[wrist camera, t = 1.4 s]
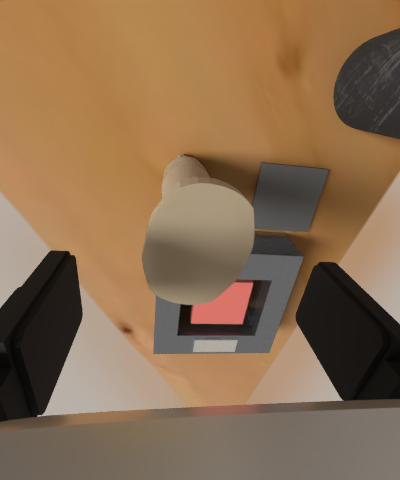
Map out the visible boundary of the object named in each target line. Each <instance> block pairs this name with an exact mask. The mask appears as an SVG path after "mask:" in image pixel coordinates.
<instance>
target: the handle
mask: <svg viewBox="0 0 400 480" xmlns="http://www.w3.org/2000/svg"><path fill="white" fill-rule="evenodd" d="M253 244H254V208H253V207H252V206H251V204H250V203H249V202H248V200H247V199H246V198H245V196H244V195H243V194H242V193H241V192H240V191H239V190H238V189H237V188H235V187H233V186H232V185H230V184H228V183H226V182H223V181H221V180H218V179H214V178H210V176H209V174H208V172H207V171H206V169H205V168H204V166H203V165H202V164H201V163H200V162H199V161H198V160H197V159H196V158H194V157H193V158H192V157H188V156H185V155H184V154H180V155H178V157H177V158H176V159H174V160H173V161H172V162H171V163H169V164H168V165H167V168H166V170H165V173H164V176H163V181H162V200H161V201H160V203H159V204H158V205H157V207H156V208H155V209H154V211H153V212H152V215H151V218H150V222H149V225H148V229H147V233H146V237H145V242H144V246H143V254H142V262H143V269H144V272H145V276H146V279H147V283H148V286H149V289H150V291H152V292H153V293H154V294H155V295H157V296H158V297H160V298H162V299H164V300H167V301H169V302H174V303H178V304H185V305H199V304H205V303H209V302H212V301H213V300H215V299H216V298H217V297H218V296H219V295H221V294H222V293H223V292H224V291H225V290H226V289H228V288H229V287H230V286H231V285H232V284H233V283H234V282H235V281H236V280H237V279H238V277H239V275H240V274H241V272H242V270H243V268H244V266H245V264H246V262H247V260H248V258H249V256H250V253H251V250H252V248H253Z"/></svg>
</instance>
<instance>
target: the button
mask: <svg viewBox="0 0 400 480" xmlns="http://www.w3.org/2000/svg"><path fill="white" fill-rule="evenodd" d="M252 286H253V281H252V280H241V279H237V280H236V281H235V282H234V283H233V284H232V285H231V286H230V287H229V288H228V289H226V290H225V291H224V292H223V293H222V294H221V295H219V296H218V297H217V298H216V299H215V300H213V301H212V302H209V303H205V304H199V305H192V307H191V314H190V318H191V324H243V320H244V316H245V313H246V309H247V305H248V301H249V298H250V294H251V290H252Z"/></svg>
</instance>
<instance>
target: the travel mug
mask: <svg viewBox="0 0 400 480" xmlns="http://www.w3.org/2000/svg"><path fill="white" fill-rule="evenodd" d="M334 105H335V109H336V112H337V114H338V116H339V118H340V119H341V120H342V121H343V122H344V123H345V124H346V125H348V126H350V127H352V128H355V129H359V130H363V131H367V132H371V133H376V134H380V135H385V136H389V137H393V138H398V139H400V28H399V29H396V30H393V31H391V32H388V33H385V34H382V35H380V36H377V37H374V38H372V39H370V40H368V41H366V42H365V43H363V44H362V45H361V46H359V47H358V48H357V49H356V50H355V51H354V52H353V53H352V54H351V55H350V56H349V58H348V59H347V60H346V62H345V63H344V65H343V66H342V68H341V70H340V72H339V75H338V77H337V80H336V84H335V88H334Z"/></svg>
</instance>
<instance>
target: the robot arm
mask: <svg viewBox="0 0 400 480" xmlns="http://www.w3.org/2000/svg"><path fill="white" fill-rule="evenodd" d="M81 320H82V305H81V296H80V288H79V280H78V272H77V264H76V258H75V256H74V255H70V252H68V251H50V252H49V253H48V254H47V255H46V257H45V258H44V259H43V260H42V262H41V263H40V264H39V265H38V267H37V268H36V269H35V270H34V272H33V273H32V274H31V275H30V277H29V278H28V279H27V280H26V282H25V283H24V284H23V285H22V287H19V288H17V289H16V290H15V291H14V292H13V294H12V295H11V296H10V297H9V298H8V300H7V301H6V302H5V303H4V305H3V306H2V307H1V308H0V480H400V324H399V323H398V322H397V321H396V320H395V319H394V318H393V317H392V316H390V315H389V314H388V313H387V312H386V311H385V310H384V309H383V308H382V307H381V306H380V305H379V304H378V303H377V302H376V301H375V300H374V299H373V298H372V297H371V296H370V295H369V294H367V293H366V292H365V291H364V290H363V289H362V288H361V287H360V286H359V285H358V284H357V283H356V282H355V281H354V280H353V279H352V278H351V277H350V276H349V275H348V274H347V273H345V271H344V270H343V269H341V268H340V267H339V266H338V265H337V264H336V263H333V262H319V263H318V264H317V265H316V266H314V268H313V270H312V273H311V275H310V278H309V281H308V283H307V286H306V289H305V291H304V294H303V297H302V299H301V302H300V304H299V307H298V310H297V312H296V322H297V324H298V325H299V327H300V329H301V331H302V332H303V334H304V336H305V337H306V339H307V341H308V343H309V344H310V346H311V348H312V349H313V351H314V353H315V354H316V356H317V358H318V360H319V361H320V363H321V365H322V366H323V368H324V370H325V372H326V374H327V375H328V377H329V379H330V380H331V382H332V384H333V385H334V387H335V389H336V390H337V392H338V394H339V396H340V397H341V398H342V400H344V401H327V402H301V403H278V404H255V405H233V406H211V407H190V408H170V409H150V410H130V411H111V412H96V413H81V414H68V415H67V414H66V415H52V416H41V417H37V415H42V414H43V413H44V412H45V410H46V408H47V405H48V403H49V400H50V398H51V395H52V393H53V390H54V388H55V385H56V383H57V380H58V378H59V375H60V373H61V371H62V368H63V366H64V363H65V361H66V358H67V356H68V353H69V351H70V348H71V345H72V343H73V340H74V338H75V336H76V333H77V331H78V328H79V325H80V323H81Z"/></svg>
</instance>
